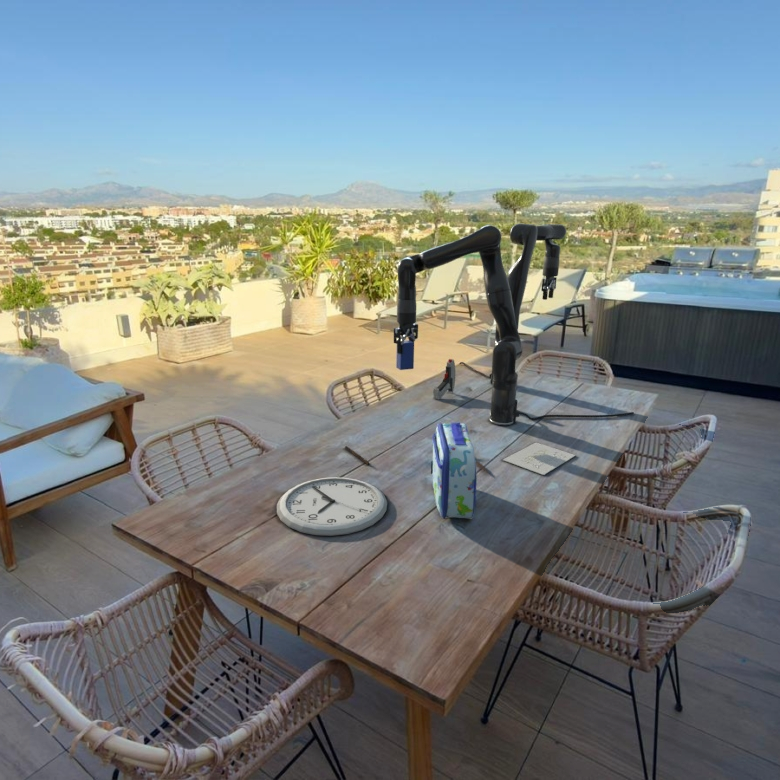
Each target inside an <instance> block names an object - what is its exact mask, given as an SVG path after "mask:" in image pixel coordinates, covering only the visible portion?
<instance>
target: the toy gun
mask: <svg viewBox="0 0 780 780" xmlns="http://www.w3.org/2000/svg"><path fill="white" fill-rule="evenodd" d="M455 384H456V364H455V359H453V358H448V360H447V362H446V366H445V373H444V377H443V379H442V382H441V383H440V384H438V386H437V387H434V388H433V399H435V400H441V398H443V396H444V395H446V393H452V394H453V393H454V390H455Z"/></svg>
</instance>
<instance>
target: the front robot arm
mask: <svg viewBox="0 0 780 780" xmlns="http://www.w3.org/2000/svg"><path fill="white" fill-rule="evenodd" d="M501 243H502V233H501V231H500V229H499V228H498V227H497V226H494V225H489V224H488V225H484V226H482V227H481V228H479V229H478V230H476V231H473V232H472V233H470V234H469V235H466V236H464V237H461V238H459V239H457V240H454V241H451V242H448V243H444V244H442V245H439V246H436V247H433V248H430V249H427V250H424V251H422V252H421V253H416V254H413V255H411V256H407V257H404V258H402V259H401V260H400V261H399V262H398V265H397V282H398V287H397V302H396V323H397V324H398V327H394V328H393V344H396V354H397V353H398V354H403V342H404V341H406V340H407V339H408V341H409V340H410V341H412V342H414V343H415V342H416V340H418V338H419V324H418V323H417V286H416V285H417V284H416V282H417V281H416V278H417V277H416V275H417V274H418V273H421V272H424V271H428V270H432V269H435V268H439V267H441V266H444V265H446V264H449V263H451V262H454V261H456V260H459V259H461V258H462V257H465V256H469V255H471V254H475V253H479V256H480V261H481V265H482V269H483V272H482V273H483V284H484V285H483V286H484V293H485V298H486V304H487V307H488V310H489V312H490V314H491V316H492V318H493V319H494V322H495V324H496V323H497V326H498V330H499V335H500V341H499V342H498V343H496V345H495V344H494V346H493V349H492V358H491V373H493V384H492V388H491V399H490V410H489V422H490V423H491V424H494V425H497V426H511V425H513V424H516V423H517V418H519V417H520V415H521V416H524V417H526V418H527V419H528V420H530V421H537V420H540V419H544V418H611V417H612V418H613V417H622V416H630V415H635V412H634V411H631V412H624V413H614V414H588V415H587V414H543V415H540V416H537V417H531V416H530V415H529V414H527V413H525V412H522V411H520V410H518V399H517V388H518V377H519V376H518V373H517V372H516V365H517V364H516V361H517V360H519V359H520V358H521V357H522V354H523V350H524V349H523V343H522V340H521V336H520V333H519V328H518V329H517V326H516V321H515V314H514V308H513V303H512V296H511V290H510V286H509V282H508V278H507V272H506V270H505V268H504V264H503V259H502V250H501V248H502V247H501Z"/></svg>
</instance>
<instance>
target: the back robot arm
mask: <svg viewBox="0 0 780 780" xmlns="http://www.w3.org/2000/svg"><path fill="white" fill-rule="evenodd" d="M566 235H567V228H566V227H565V225H563V224H542V225H535V224H529V223H516V224H514V225H513V226H512V228H511V229H510V232H509V239H510V242H511V243H512V244H514V245H518V246H523V247H522V251H521V254H520V256H519V258H518V259H517V261H516V262H515V263H514V264H513V265H512V266H511V267H510V269H509V270H508V272H507V273H506V275H507V278H508V282H509V286H510V290H511V296H512V303H513V308H514V314H515V321H516V326H517V329H518V330H519V322H520V314H521V313H520V312H521V308H522V305H523V300H524V295H525V290H526V287H527V282H528V276H529V270H530V266H531V261H532V258H533V254H534V250H535V247H536V244H537V241H538V242H539V241H542V242H543V241H544V245H545V251H544V258H543V264H542V265H543V266H542V276H544V277H545V278H542V281H541V289H540V290H541V292H542V300H545V301H546V300H548V299H553V298H554V291H555V290H556V288H557V280H558V279H557V277H558V276H559V268H560V257H561V245H559V244H557V243H554V240H557V241H559V240H563V239H564V238H565V236H566ZM494 332H495V333H494V346H495V345H496V343H498V342H499V341H500V335H499V330H498V326H497V323H496V322H495V331H494ZM458 364H459V365H464V366H465V367H467V368H468V369H470V370H471V371H472V372H474V373H477V374H480V375H481V376H483V377H485V378H487V379H490V384H492V385H493V373H492V372H491V373H489V376H488V375H486V374H485V373H483V372H481V371H479V370H477V369H474V368H472V367H471V366H470V365H468V364H466V363H465V362H464V361H461V362H459V363H458Z"/></svg>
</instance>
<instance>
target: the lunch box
mask: <svg viewBox="0 0 780 780" xmlns="http://www.w3.org/2000/svg"><path fill="white" fill-rule="evenodd" d="M467 427H468V426H467V424H466V423H461V422H450V423H441V422H439V423H437V424H436V428H435V433H433V435H432V460H431V461H430V465H431V466H430V474H431V475H432V488H433V492H434V501H435V505H436V508H437V511H438V513H439V515H440V517H441V518H442V519H445V520H446V518H458V519H469V520H470V519H472V518H473V517H474V515H475V511H476V501H477V479H478V477H477V476H478V475H477V464H476V461H477V460H476V456H475V449H474V446H473V445H474V444H473V442H472V440H471V438H470V435H469V431H468V428H467ZM475 460H476V461H475Z"/></svg>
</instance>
